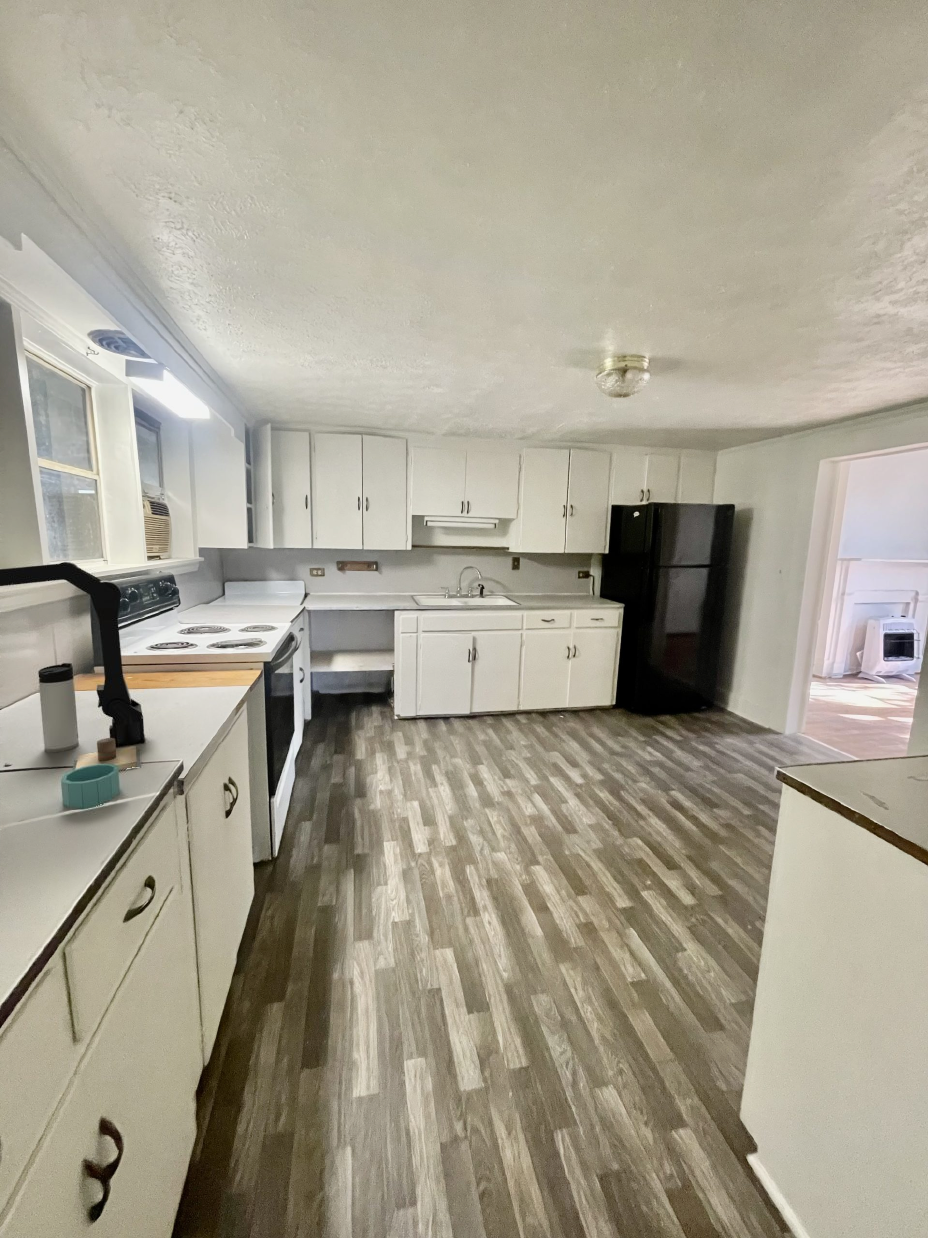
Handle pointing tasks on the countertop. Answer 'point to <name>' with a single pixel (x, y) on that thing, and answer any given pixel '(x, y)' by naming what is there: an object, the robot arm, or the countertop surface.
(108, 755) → the lid
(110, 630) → the robot arm
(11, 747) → the countertop surface
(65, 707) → the travel mug
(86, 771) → the bowl
